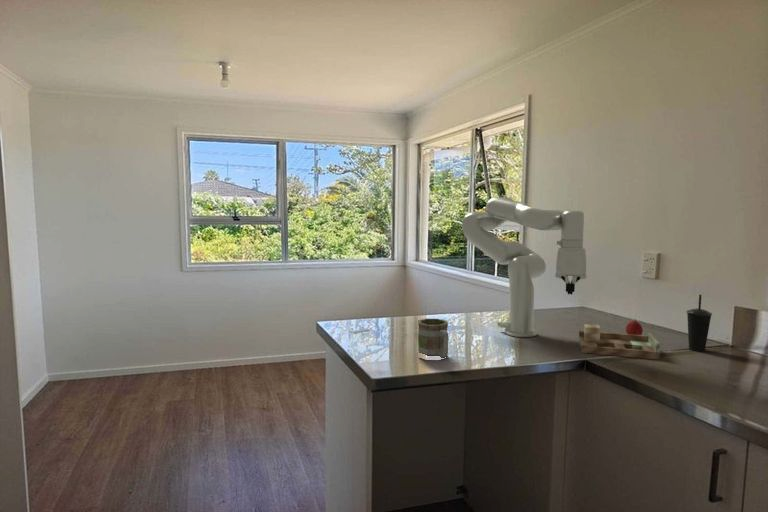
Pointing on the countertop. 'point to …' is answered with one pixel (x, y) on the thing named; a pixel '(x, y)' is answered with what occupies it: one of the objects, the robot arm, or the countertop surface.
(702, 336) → the drinking cup
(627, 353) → the track
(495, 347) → the countertop surface
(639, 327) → the onion
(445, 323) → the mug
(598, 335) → the block
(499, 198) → the robot arm
